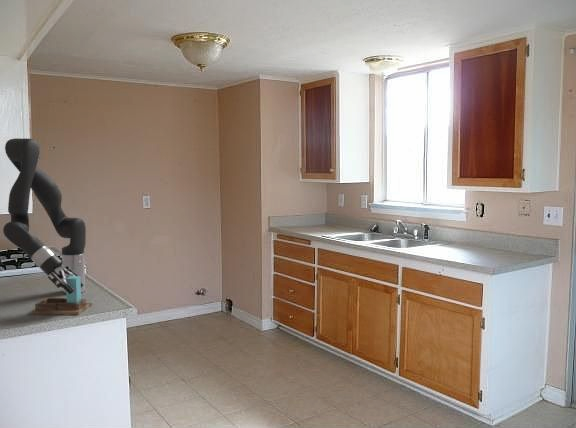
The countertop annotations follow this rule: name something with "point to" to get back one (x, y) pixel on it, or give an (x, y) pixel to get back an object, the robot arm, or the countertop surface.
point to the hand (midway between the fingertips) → (77, 289)
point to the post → (76, 285)
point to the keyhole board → (60, 306)
